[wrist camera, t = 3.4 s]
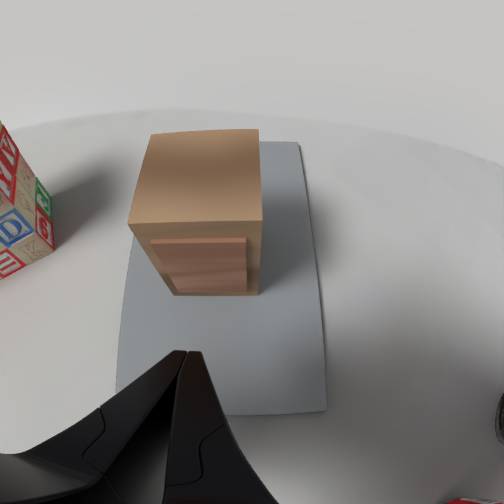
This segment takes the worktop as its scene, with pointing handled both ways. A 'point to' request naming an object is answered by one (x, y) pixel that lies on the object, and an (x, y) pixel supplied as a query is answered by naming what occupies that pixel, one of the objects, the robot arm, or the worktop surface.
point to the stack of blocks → (21, 211)
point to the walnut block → (201, 211)
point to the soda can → (472, 501)
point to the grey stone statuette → (500, 420)
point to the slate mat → (242, 311)
